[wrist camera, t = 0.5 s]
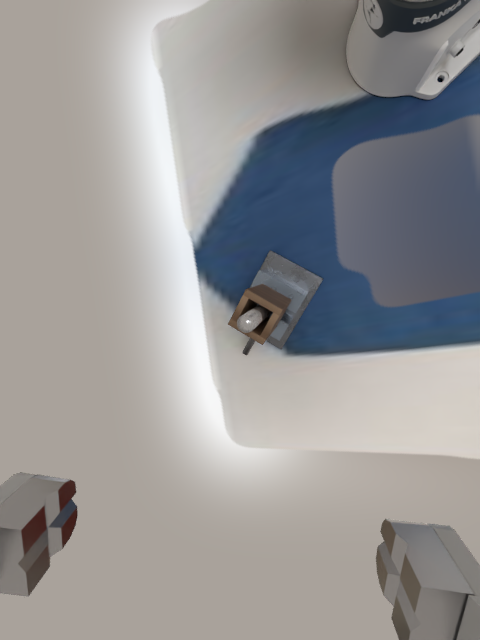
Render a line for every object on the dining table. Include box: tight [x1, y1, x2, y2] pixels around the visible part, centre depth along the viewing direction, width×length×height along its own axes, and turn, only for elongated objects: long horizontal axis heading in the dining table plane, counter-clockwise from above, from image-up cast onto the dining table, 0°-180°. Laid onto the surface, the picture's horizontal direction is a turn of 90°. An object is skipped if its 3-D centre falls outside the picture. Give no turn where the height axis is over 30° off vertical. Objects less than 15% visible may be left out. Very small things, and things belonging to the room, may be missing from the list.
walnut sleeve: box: [228, 284, 292, 345], centre depth 40 cm, size 5×5×10 cm
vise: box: [237, 251, 323, 355], centre depth 43 cm, size 17×10×22 cm, turn 152°
